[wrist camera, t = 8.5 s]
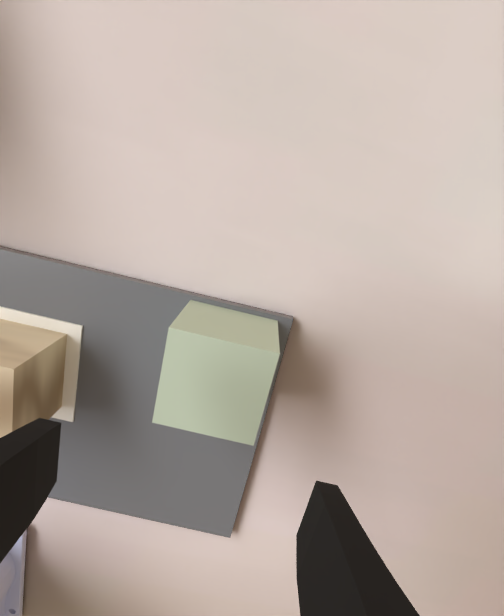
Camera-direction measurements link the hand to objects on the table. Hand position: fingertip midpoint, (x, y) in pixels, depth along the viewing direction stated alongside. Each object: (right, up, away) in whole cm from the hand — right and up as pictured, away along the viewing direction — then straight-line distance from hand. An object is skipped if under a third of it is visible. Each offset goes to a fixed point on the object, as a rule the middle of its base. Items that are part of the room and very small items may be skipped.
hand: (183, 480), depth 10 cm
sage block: (0, +3, +9) cm, 9 cm away
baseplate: (-6, -1, +10) cm, 12 cm away
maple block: (-10, +2, +9) cm, 14 cm away
